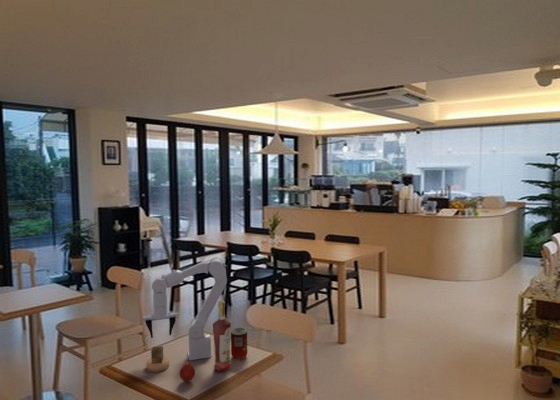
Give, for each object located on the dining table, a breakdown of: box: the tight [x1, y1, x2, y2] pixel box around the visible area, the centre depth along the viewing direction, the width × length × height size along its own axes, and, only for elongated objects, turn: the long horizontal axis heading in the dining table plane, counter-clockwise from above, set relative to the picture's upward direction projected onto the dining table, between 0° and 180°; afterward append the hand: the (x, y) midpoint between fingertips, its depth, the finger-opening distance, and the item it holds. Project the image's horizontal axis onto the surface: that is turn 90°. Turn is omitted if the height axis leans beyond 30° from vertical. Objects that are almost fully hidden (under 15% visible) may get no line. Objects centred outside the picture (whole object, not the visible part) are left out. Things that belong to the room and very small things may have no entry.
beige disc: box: [145, 355, 170, 373], centre depth 169 cm, size 9×9×2 cm
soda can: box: [230, 327, 248, 361], centre depth 177 cm, size 7×7×12 cm
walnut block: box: [150, 345, 164, 364], centre depth 168 cm, size 4×4×6 cm
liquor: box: [212, 300, 232, 372], centre depth 166 cm, size 7×7×28 cm
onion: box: [179, 361, 196, 383], centre depth 156 cm, size 6×6×8 cm
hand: (161, 335), depth 176 cm, fingers open, 7 cm apart
